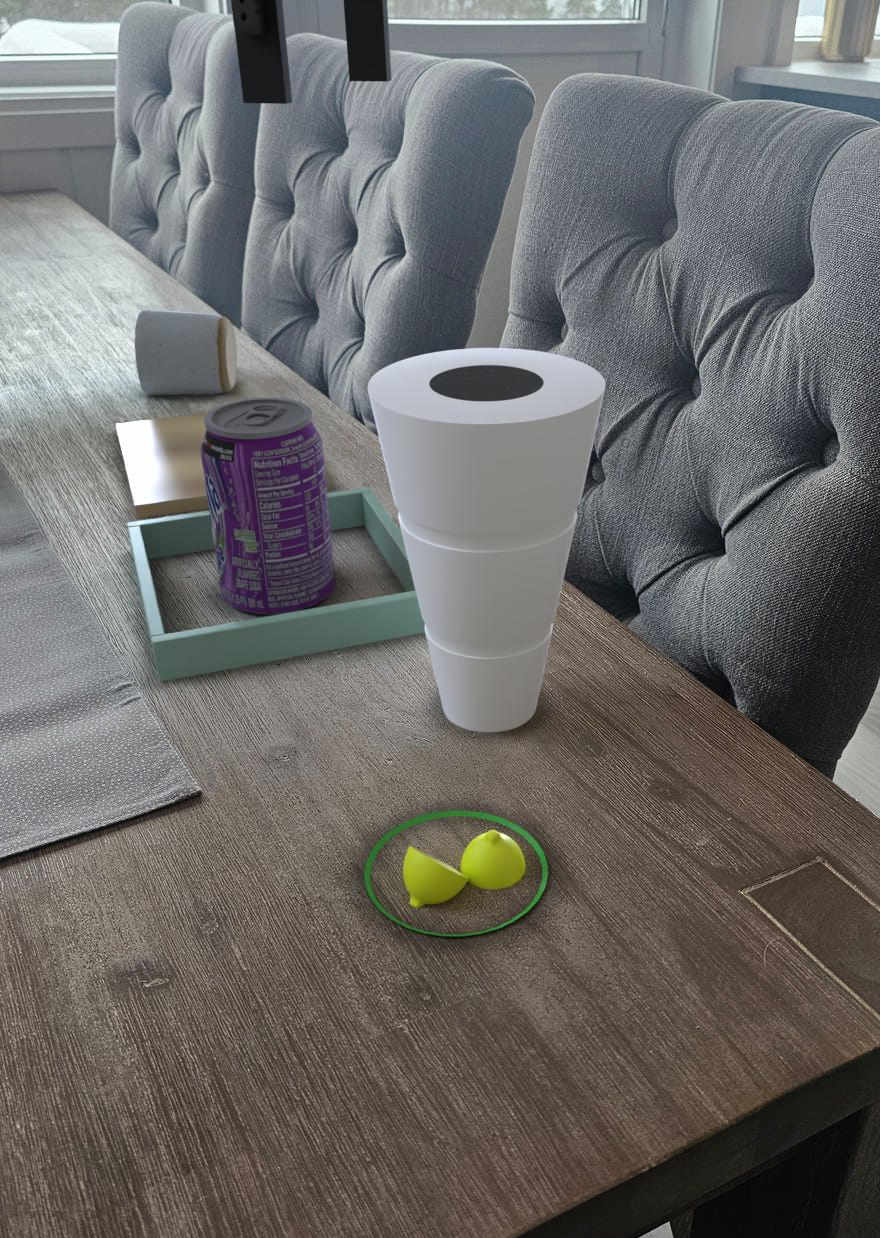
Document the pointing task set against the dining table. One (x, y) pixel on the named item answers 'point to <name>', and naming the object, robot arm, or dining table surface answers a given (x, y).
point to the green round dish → (482, 865)
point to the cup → (487, 511)
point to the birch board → (165, 464)
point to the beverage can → (268, 505)
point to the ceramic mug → (185, 353)
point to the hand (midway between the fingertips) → (323, 91)
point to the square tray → (281, 631)
